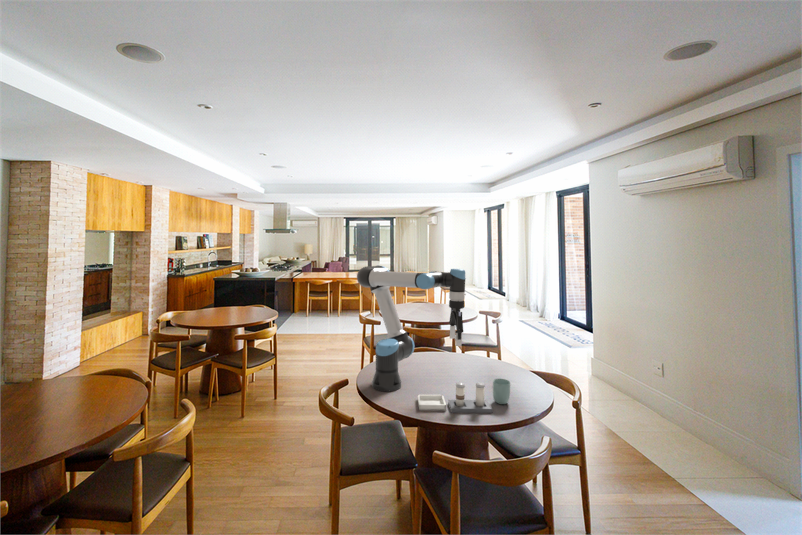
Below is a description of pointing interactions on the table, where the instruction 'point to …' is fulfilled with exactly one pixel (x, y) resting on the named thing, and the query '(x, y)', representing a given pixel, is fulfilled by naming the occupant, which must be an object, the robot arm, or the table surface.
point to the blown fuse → (460, 394)
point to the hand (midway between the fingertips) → (455, 342)
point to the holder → (470, 407)
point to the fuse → (480, 394)
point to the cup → (501, 391)
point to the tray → (431, 402)
